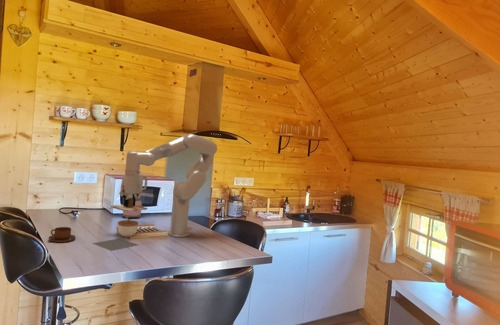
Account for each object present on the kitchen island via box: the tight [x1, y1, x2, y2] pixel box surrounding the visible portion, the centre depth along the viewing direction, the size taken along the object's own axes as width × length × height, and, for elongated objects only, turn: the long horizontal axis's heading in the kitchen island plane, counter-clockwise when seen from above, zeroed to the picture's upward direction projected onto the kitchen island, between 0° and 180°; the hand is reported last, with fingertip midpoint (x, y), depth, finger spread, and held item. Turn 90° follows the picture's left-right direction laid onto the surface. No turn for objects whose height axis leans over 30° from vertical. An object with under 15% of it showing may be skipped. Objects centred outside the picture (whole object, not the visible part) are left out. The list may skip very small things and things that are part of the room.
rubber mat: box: [92, 238, 139, 252], centre depth 175 cm, size 16×16×1 cm
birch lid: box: [110, 198, 148, 212], centre depth 193 cm, size 14×14×5 cm
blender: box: [121, 173, 148, 220], centre depth 242 cm, size 16×12×32 cm
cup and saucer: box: [48, 226, 76, 243], centre depth 174 cm, size 12×12×6 cm
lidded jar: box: [117, 218, 139, 238], centre depth 193 cm, size 11×11×9 cm
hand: (129, 205), depth 193 cm, fingers closed on birch lid, 4 cm apart
